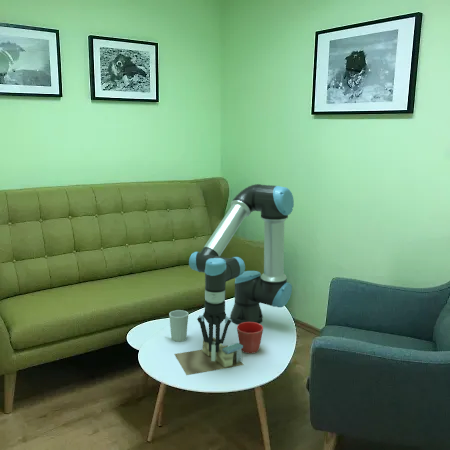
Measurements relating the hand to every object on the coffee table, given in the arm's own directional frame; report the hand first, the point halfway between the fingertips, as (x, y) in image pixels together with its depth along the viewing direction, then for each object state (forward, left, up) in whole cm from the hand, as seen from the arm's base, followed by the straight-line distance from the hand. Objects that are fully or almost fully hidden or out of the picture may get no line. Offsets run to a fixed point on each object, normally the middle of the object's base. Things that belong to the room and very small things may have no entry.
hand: (213, 359), depth 177 cm
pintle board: (+1, -3, -3) cm, 4 cm away
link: (-3, -3, -1) cm, 4 cm away
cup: (+7, -25, -3) cm, 26 cm away
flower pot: (-18, -8, -3) cm, 20 cm away
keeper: (-6, +3, -2) cm, 7 cm away
